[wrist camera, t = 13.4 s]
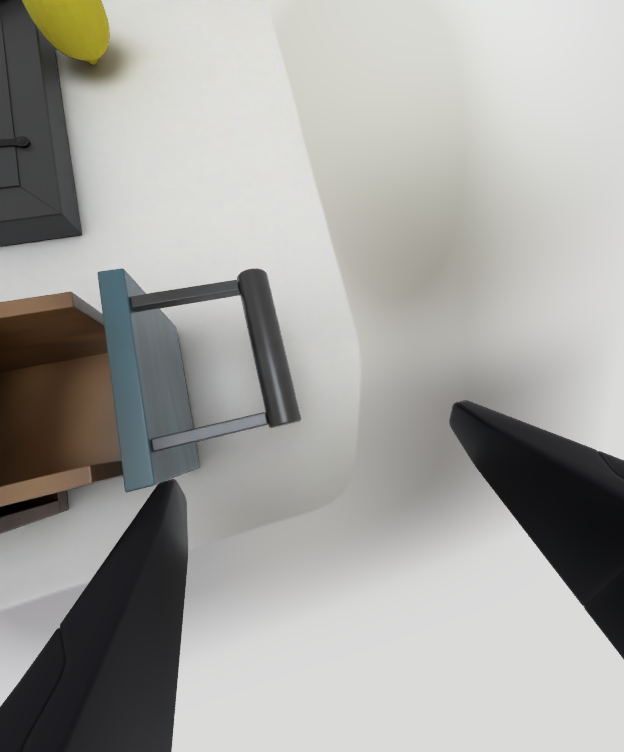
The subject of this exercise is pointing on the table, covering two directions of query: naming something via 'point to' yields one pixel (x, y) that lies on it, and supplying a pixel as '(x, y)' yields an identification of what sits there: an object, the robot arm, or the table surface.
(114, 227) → the table surface
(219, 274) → the table surface
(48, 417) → the drawer
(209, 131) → the table surface
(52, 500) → the cabinet
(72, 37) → the lemon
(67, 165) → the picture frame
